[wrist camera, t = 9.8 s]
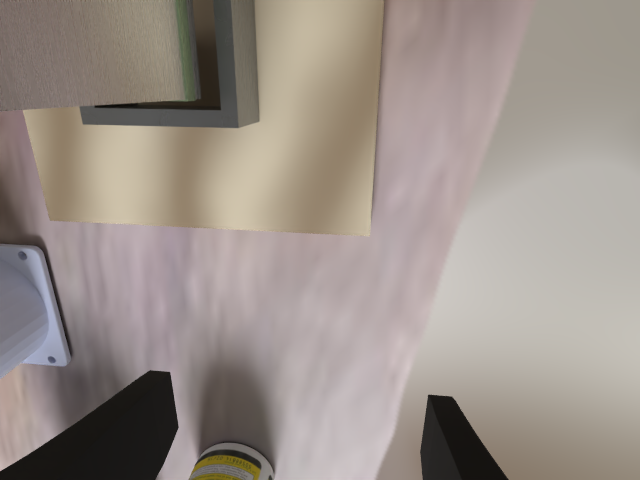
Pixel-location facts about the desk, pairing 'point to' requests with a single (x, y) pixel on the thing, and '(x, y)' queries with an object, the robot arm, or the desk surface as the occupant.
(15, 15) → the column
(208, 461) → the supplement bottle
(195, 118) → the sleeve
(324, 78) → the stand base
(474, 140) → the desk surface
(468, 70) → the desk surface
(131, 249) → the desk surface
